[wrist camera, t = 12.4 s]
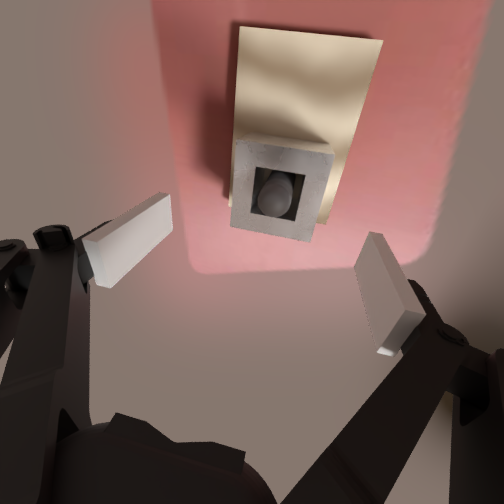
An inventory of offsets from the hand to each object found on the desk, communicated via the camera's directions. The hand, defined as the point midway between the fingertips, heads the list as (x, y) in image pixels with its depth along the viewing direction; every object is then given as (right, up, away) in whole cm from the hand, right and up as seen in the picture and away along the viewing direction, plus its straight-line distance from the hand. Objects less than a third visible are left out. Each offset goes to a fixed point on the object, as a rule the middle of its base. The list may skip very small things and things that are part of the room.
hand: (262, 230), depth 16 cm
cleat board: (+4, +12, +12) cm, 17 cm away
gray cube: (+3, +8, +13) cm, 15 cm away
